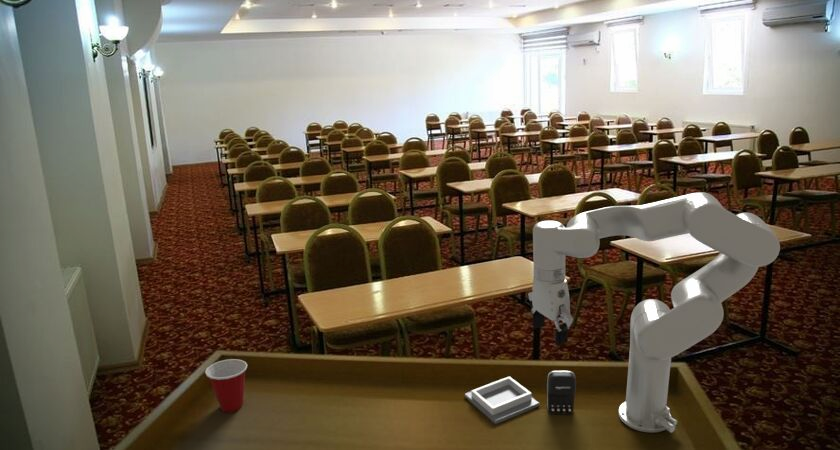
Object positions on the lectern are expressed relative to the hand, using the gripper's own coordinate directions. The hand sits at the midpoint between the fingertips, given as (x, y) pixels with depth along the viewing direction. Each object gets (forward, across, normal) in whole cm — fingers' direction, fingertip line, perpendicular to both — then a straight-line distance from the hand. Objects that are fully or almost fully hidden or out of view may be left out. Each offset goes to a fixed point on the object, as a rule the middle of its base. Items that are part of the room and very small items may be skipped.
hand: (549, 335), depth 155 cm
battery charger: (+22, -2, -2) cm, 22 cm away
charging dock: (+21, +8, +10) cm, 25 cm away
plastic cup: (+19, +40, +75) cm, 87 cm away
